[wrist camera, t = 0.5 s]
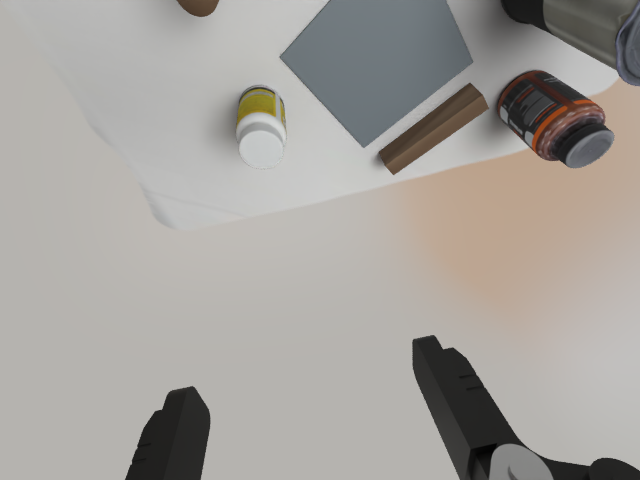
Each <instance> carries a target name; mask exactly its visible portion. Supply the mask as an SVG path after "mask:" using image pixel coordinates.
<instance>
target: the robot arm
mask: <svg viewBox="0 0 640 480" xmlns="http://www.w3.org/2000/svg"><path fill="white" fill-rule="evenodd" d="M412 344H413V370H414V374H415V377H416V380H417V383H418V385H419V387H420V390H421V392H422V394H423V396H424V399H425V400H426V403H427V405H428V408H429V410H430V412H431V415H432V417H433V419H434V422H435V424H436V426H437V428H438V431H439V433H440V435H441V437H442V440H443V442H444V444H445V447H446V449H447V451H448V453H449V456H450V458H451V460H452V462H453V465H454V467H455V469H456V472H457V474H458V476H459V478H460V480H640V471H639V470H637V469H636V468H634V467H633V466H631V465H629V464H627V463H625V462H623V461H620V460H617V459H613V458H601V459H597V460H596V461H594V462H593V463H592V465H591V466H585V465H578V464H572V463H566V462H558V461H554V460H550V459H547V458H544V457H542V456H540V455H538V454H536V453H535V452H533V451H532V450H530V449H529V448H527V447H526V446H525V445H524V444H523V443H522V442H521V441H520V440H519V439H518V437H517V436H516V435H515V433H514V432H513V430H512V428H511V427H510V425H509V424H508V422H507V421H506V419H505V418H504V416H503V414H502V413H501V411H500V410H499V408H498V407H497V405H496V403H495V402H494V400H493V399H492V397H491V396H490V394H489V393H488V391H487V389H486V388H484V385H483V383H482V382H481V380H480V379H479V377H478V376H477V375H476V372H475V371H474V369H473V368H472V366H471V364H470V363H469V361H468V360H467V358H465V357H464V356H463V355H462V354H461V353H459V352H458V351H457V350H456V349H454V348H448V349H442V347H441V345H440V343H439V341H438V340H437V338H436V337H435V336H434V335H431V336H426V337H422V338H417V339H414V340H413V342H412ZM209 430H210V413H209V409H208V408H207V406H206V404H205V403H204V401H203V400H202V398H201V397H200V395H199V393H198V392H197V390H196V389H195V387H193V386H191V387H187V388H182V389H177V390H172V391H170V392H169V393H168V395H167V397H166V400H165V403H164V406H163V409H162V410H158V411H155V412H154V414H153V415H152V417H151V418H150V420H149V421H148V423H147V424H146V426H145V427H144V429H143V432H142V434H141V437H140V440H139V443H138V445H137V447H138V448H137V450H136V451H135V454H134V457H133V459H132V465H130V468H129V470H128V473H127V476H126V479H125V480H201V474H202V469H203V463H204V458H205V452H206V447H207V441H208V436H209Z"/></svg>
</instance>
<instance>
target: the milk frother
mask: <svg viewBox="0 0 640 480" xmlns="http://www.w3.org/2000/svg"><path fill="white" fill-rule="evenodd" d="M501 2H502V6H503V8H504V10H505V12H506V13H507V15H509V17H510V18H512V19H513V20H515V21H517V22H520V23H524V24H532V25H534V26H536V27H538V28H540V29H542V30H545V31H547V32H549V33H550V34H552V35H554V36H556V37H558V38H559V39H561V40H563V41H564V42H566V43H568V44H569V45H571V46H573V47H575V48H577V49H578V50H580V51H582V52H584V53H586V54H587V55H589V56H591V57H593V58H595V59H597V60H598V61H600V62H602V63H604V64H606V65H608V66H609V67H611V68H613V69H615V70H617V72H618V74H619V76H620V77H621V78H622V79H623V80H624V81H625V82H627V83H628V84H631V85H635V86H640V0H501Z"/></svg>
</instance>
